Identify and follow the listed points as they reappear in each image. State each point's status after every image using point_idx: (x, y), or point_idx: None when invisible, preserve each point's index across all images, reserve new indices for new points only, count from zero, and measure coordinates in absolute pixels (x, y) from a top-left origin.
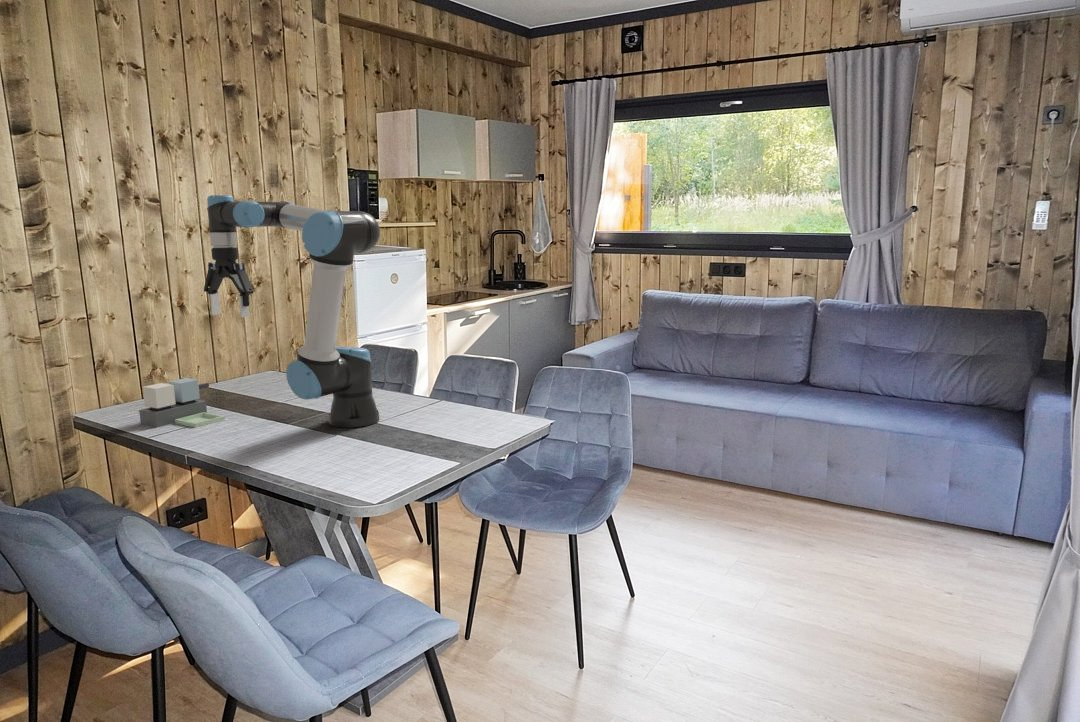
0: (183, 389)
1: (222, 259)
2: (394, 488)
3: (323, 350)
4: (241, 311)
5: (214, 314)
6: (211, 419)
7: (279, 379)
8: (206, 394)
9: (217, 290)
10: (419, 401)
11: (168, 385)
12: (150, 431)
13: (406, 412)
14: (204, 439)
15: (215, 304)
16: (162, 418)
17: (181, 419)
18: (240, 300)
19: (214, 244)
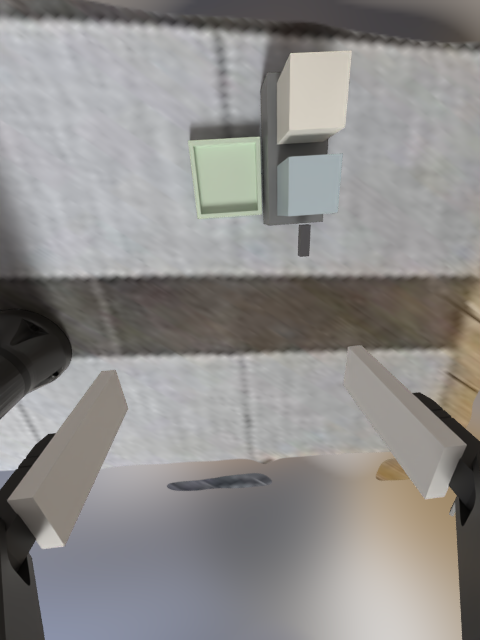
0: (284, 167)
1: None
2: None
3: None
4: (86, 394)
5: (348, 354)
6: (194, 185)
7: (367, 429)
8: (402, 319)
9: (457, 527)
10: None
11: (295, 115)
12: (263, 75)
13: (26, 414)
14: (106, 106)
15: (378, 402)
16: (264, 101)
17: (256, 153)
18: (40, 460)
19: None
